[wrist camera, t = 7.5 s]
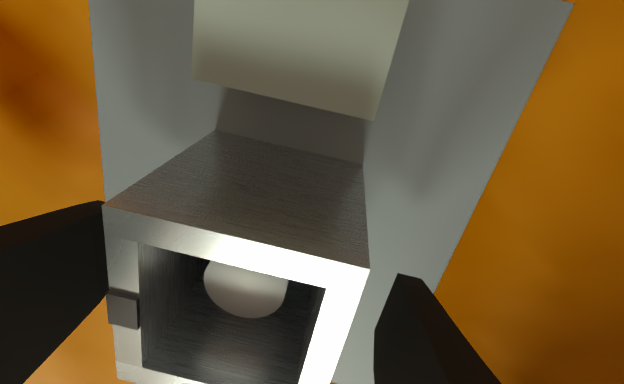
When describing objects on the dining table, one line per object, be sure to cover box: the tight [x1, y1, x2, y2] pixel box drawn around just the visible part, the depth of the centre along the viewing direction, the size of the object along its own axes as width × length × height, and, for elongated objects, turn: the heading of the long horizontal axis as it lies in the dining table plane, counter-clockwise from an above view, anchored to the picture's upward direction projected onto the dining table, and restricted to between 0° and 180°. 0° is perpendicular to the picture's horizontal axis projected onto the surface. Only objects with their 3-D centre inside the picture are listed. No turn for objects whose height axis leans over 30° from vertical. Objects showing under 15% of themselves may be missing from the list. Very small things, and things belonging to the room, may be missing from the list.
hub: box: [102, 130, 370, 384], centre depth 9 cm, size 5×5×5 cm
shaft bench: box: [89, 0, 575, 384], centre depth 10 cm, size 15×12×4 cm
